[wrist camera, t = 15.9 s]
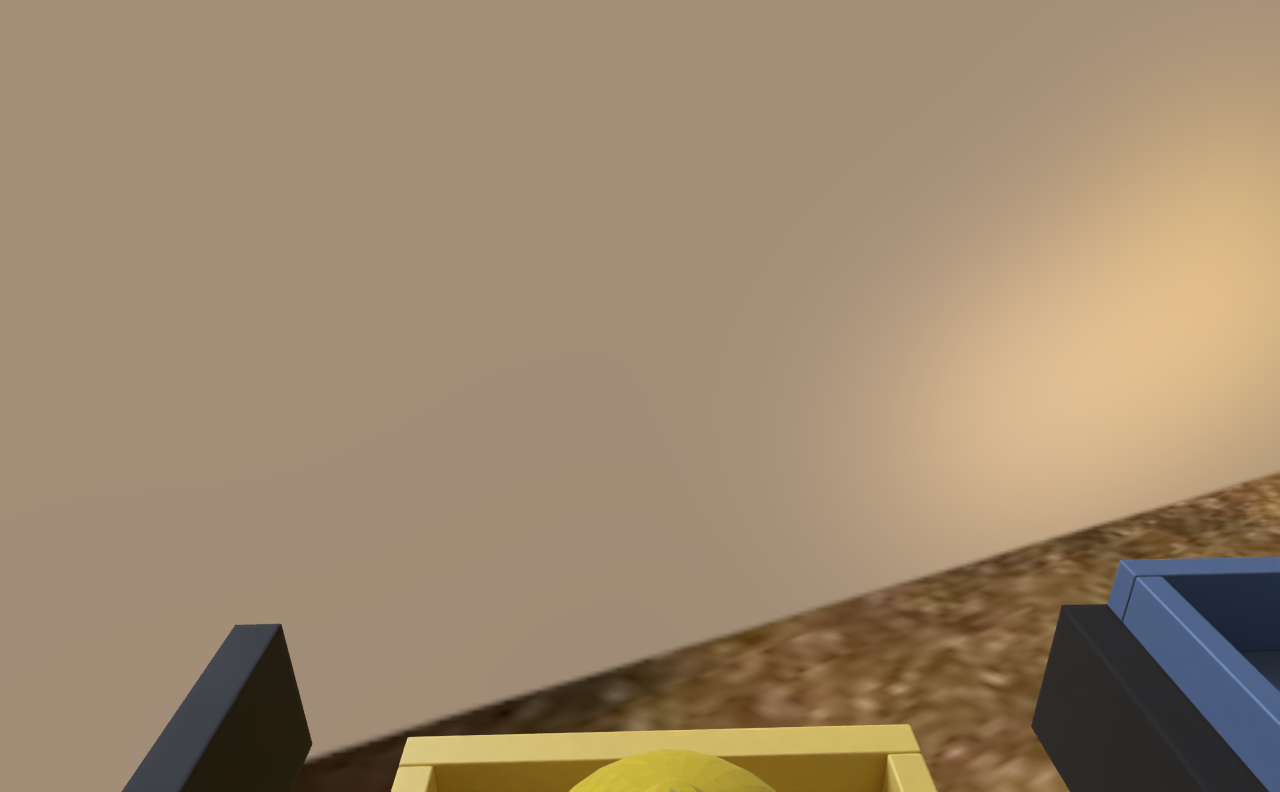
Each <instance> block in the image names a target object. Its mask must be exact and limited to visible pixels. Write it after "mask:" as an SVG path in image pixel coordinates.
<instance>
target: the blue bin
mask: <svg viewBox="0 0 1280 792" xmlns="http://www.w3.org/2000/svg"><path fill="white" fill-rule="evenodd" d="M1108 606H1109V607H1110V608H1111V609H1112V610H1113V612H1114V613H1115V614H1116V615H1117V616H1118V617H1119V619H1120V620H1121V621H1122V622H1123V623H1124V624H1125V625H1126V627H1127V628H1128V629H1129V630H1130V631H1131V632H1132V634H1133V635H1134V636H1135V637H1136V638H1137V639H1138V641H1139V642H1140V643H1141V644H1142V645H1143V646H1144V647H1145V649H1146V650H1147V651H1148V652H1149V653H1150V654H1151V656H1152V657H1153V658H1154V659H1155V660H1156V661H1157V662H1158V664H1159V665H1160V666H1161V667H1162V668H1163V669H1164V671H1165V672H1166V673H1167V674H1168V675H1169V676H1170V678H1171V679H1172V680H1173V681H1174V682H1175V683H1176V684H1177V686H1178V687H1179V688H1180V689H1181V690H1182V691H1183V693H1184V694H1185V695H1186V696H1187V697H1188V698H1189V699H1190V701H1191V702H1192V703H1193V704H1194V705H1195V706H1196V708H1197V709H1198V710H1199V711H1200V712H1201V713H1202V715H1203V716H1204V717H1205V718H1206V719H1207V720H1208V721H1209V723H1210V724H1211V725H1212V726H1213V727H1214V728H1215V730H1216V731H1217V732H1218V733H1219V734H1220V735H1221V736H1222V738H1223V739H1224V740H1225V741H1226V742H1227V743H1228V745H1229V746H1230V747H1231V748H1232V749H1233V750H1234V752H1235V753H1236V754H1237V755H1238V756H1239V757H1240V758H1241V760H1242V761H1243V762H1244V763H1245V764H1246V765H1247V767H1248V768H1249V769H1250V770H1251V771H1252V772H1253V773H1254V775H1255V776H1256V777H1257V778H1258V779H1259V780H1260V782H1261V783H1262V784H1263V785H1264V786H1265V787H1266V789H1267V790H1268V791H1269V792H1280V557H1242V558H1199V559H1156V560H1121V561H1120V563H1119V567H1118V570H1117V574H1116V577H1115V581H1114V584H1113V588H1112V591H1111V595H1110V598H1109V602H1108Z"/></svg>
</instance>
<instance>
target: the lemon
mask: <svg viewBox="0 0 1280 792" xmlns="http://www.w3.org/2000/svg"><path fill="white" fill-rule="evenodd" d="M569 792H776V791H775V790H774V789H773V788H771V787H770V786H769V785H767V784H766V783H765V782H763V781H762V780H761V779H759V778H758V777H757V776H755V775H754V774H753V773H751V772H749V771H747V770H745V769H743V768H741V767H739V766H737V765H734V764H732V763H730V762H728V761H726V760H724V759H721V758H719V757H715V756H711V755H707V754H702V753H698V752H694V751H690V750H657V751H651V752H646V753H641V754H635V755H631V756H628V757H626V758H623V759H621V760H619V761H616V762H614V763H611V764H609V765H607V766H604V767H602V768H600V769H598V770H597V771H595V772H594V773H593V774H591V775H590V776H588V777H587V778H585V779H584V780H583V781H581V782H580V783H578V784H577V785H576V786H574V787H573V788H572V789H571V790H570V791H569Z"/></svg>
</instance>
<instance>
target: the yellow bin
mask: <svg viewBox="0 0 1280 792" xmlns="http://www.w3.org/2000/svg"><path fill="white" fill-rule="evenodd" d="M657 750H690V751H694V752H698V753H702V754H707V755H711V756H715V757H719V758H721V759H724V760H726V761H728V762H730V763H732V764H734V765H737V766H739V767H741V768H743V769H745V770H747V771H749V772H751V773H753V774H754V775H755V776H757V777H758V778H759V779H761V780H762V781H763V782H765V783H766V784H767V785H769V786H770V787H771V788H773V789H774V790H775V791H776V792H938V791H937V788H936V786H935V784H934V781H933V779H932V777H931V774H930V772H929V769H928V767H927V765H926V762H925V760H924V758H923V755H922V754H921V750H920V747H919V745H918V743H917V740H916V738H915V735H914V733H913V731H912V728H911V726H910V725H908V724H904V725H865V726H826V727H787V728H748V729H709V730H670V731H631V732H592V733H553V734H514V735H475V736H436V737H409V738H408V739H407V742H406V745H405V748H404V751H403V754H402V758H401V761H400V764H399V769H398V771H397V774H396V777H395V781H394V784H393V787H392V790H391V792H569V791H570V790H571V789H572V788H573V787H574V786H576V785H577V784H578V783H580V782H581V781H583V780H584V779H585V778H587V777H588V776H590V775H591V774H593V773H594V772H595V771H597V770H598V769H600V768H602V767H604V766H607V765H609V764H611V763H614V762H616V761H619V760H621V759H623V758H626V757H628V756H631V755H635V754H641V753H646V752H651V751H657Z"/></svg>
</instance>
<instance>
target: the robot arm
mask: <svg viewBox="0 0 1280 792" xmlns="http://www.w3.org/2000/svg"><path fill="white" fill-rule="evenodd" d="M1031 727H1032V729H1033V730H1034V732H1035V734H1036V735H1037V737H1038V739H1039V740H1040V742H1041V744H1042V745H1043V747H1044V749H1045V750H1046V752H1047V754H1048V755H1049V757H1050V759H1051V760H1052V762H1053V764H1054V765H1055V767H1056V769H1057V770H1058V772H1059V774H1060V775H1061V777H1062V779H1063V780H1064V782H1065V784H1066V786H1067V787H1068V789H1069V791H1070V792H1269V791H1268V790H1267V789H1266V787H1265V786H1264V785H1263V784H1262V783H1261V782H1260V780H1259V779H1258V778H1257V777H1256V776H1255V775H1254V773H1253V772H1252V771H1251V770H1250V769H1249V768H1248V767H1247V765H1246V764H1245V763H1244V762H1243V761H1242V760H1241V758H1240V757H1239V756H1238V755H1237V754H1236V753H1235V752H1234V750H1233V749H1232V748H1231V747H1230V746H1229V745H1228V743H1227V742H1226V741H1225V740H1224V739H1223V738H1222V736H1221V735H1220V734H1219V733H1218V732H1217V731H1216V730H1215V728H1214V727H1213V726H1212V725H1211V724H1210V723H1209V721H1208V720H1207V719H1206V718H1205V717H1204V716H1203V715H1202V713H1201V712H1200V711H1199V710H1198V709H1197V708H1196V706H1195V705H1194V704H1193V703H1192V702H1191V701H1190V699H1189V698H1188V697H1187V696H1186V695H1185V694H1184V693H1183V691H1182V690H1181V689H1180V688H1179V687H1178V686H1177V684H1176V683H1175V682H1174V681H1173V680H1172V679H1171V678H1170V676H1169V675H1168V674H1167V673H1166V672H1165V671H1164V669H1163V668H1162V667H1161V666H1160V665H1159V664H1158V662H1157V661H1156V660H1155V659H1154V658H1153V657H1152V656H1151V654H1150V653H1149V652H1148V651H1147V650H1146V649H1145V647H1144V646H1143V645H1142V644H1141V643H1140V642H1139V641H1138V639H1137V638H1136V637H1135V636H1134V635H1133V634H1132V632H1131V631H1130V630H1129V629H1128V628H1127V627H1126V625H1125V624H1124V623H1123V622H1122V621H1121V620H1120V619H1119V617H1118V616H1117V615H1116V614H1115V613H1114V612H1113V610H1112V609H1111V608H1110V607H1109V606H1108V605H1107V604H1099V605H1062V607H1061V611H1060V615H1059V619H1058V623H1057V627H1056V631H1055V635H1054V639H1053V643H1052V646H1051V650H1050V654H1049V658H1048V662H1047V666H1046V670H1045V674H1044V678H1043V682H1042V686H1041V690H1040V694H1039V698H1038V702H1037V706H1036V710H1035V713H1034V717H1033V721H1032V725H1031ZM311 746H312V741H311V737H310V733H309V729H308V726H307V721H306V717H305V714H304V710H303V706H302V702H301V698H300V694H299V690H298V687H297V683H296V679H295V675H294V671H293V667H292V663H291V660H290V656H289V652H288V648H287V644H286V641H285V636H284V633H283V629H282V625H281V624H256V625H235V627H234V628H233V629H232V631H231V632H230V634H229V635H228V637H227V638H226V640H225V641H224V643H223V644H222V645H221V647H220V648H219V650H218V651H217V653H216V654H215V656H214V657H213V659H212V660H211V662H210V663H209V665H208V666H207V668H206V669H205V670H204V672H203V673H202V675H201V676H200V678H199V679H198V681H197V682H196V684H195V685H194V686H193V688H192V689H191V691H190V692H189V694H188V695H187V697H186V698H185V700H184V701H183V703H182V704H181V706H180V707H179V709H178V710H177V711H176V713H175V714H174V716H173V717H172V719H171V720H170V722H169V723H168V725H167V726H166V728H165V729H164V730H163V732H162V733H161V735H160V736H159V738H158V739H157V741H156V742H155V744H154V745H153V747H152V748H151V750H150V751H149V752H148V754H147V756H146V757H145V758H144V760H143V761H142V763H141V764H140V766H139V767H138V769H137V770H136V772H135V773H134V774H133V776H132V777H131V779H130V780H129V782H128V783H127V785H126V786H125V788H124V789H123V791H122V792H291V790H292V788H293V786H294V784H295V781H296V779H297V777H298V775H299V773H300V770H301V768H302V766H303V764H304V762H305V759H306V757H307V755H308V753H309V750H310V748H311Z"/></svg>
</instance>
